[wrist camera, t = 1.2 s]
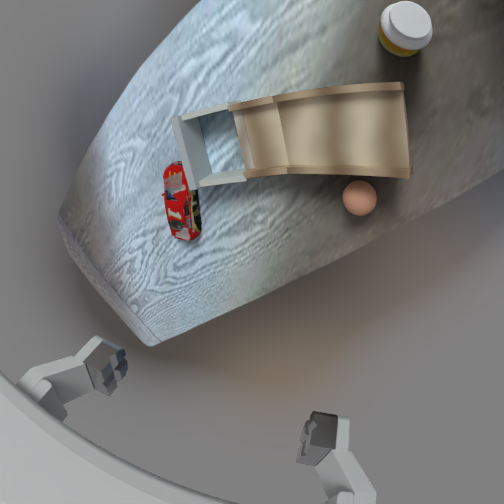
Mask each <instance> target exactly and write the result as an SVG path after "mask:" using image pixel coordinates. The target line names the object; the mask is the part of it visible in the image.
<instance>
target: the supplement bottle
mask: <svg viewBox="0 0 504 504" xmlns="http://www.w3.org/2000/svg"><path fill="white" fill-rule="evenodd" d="M378 37H379V40H380V42H381V44H382V45H383V47H384V48H385V49H386V50H387V51H389V52H390V53H392V54H394V55H396V56H400V57H408V56H412V55H414V54H415V53H417V52H418V51H419V50H421V49H422V48H423V47H425V46H426V45H427V44H428V43H429V42H430V40H431V38H432V26H431V19H430V17H429V15H428V13H427V12H426V11H425V10H424V9H423V8H422V7H421V6H419V5H417V4H416V3H413V2H409V1H401V2H398V3H395V4H392V5H390V6H388V7H387V8H386V9H385V10H384V11H383V13H382V16H381V19H380V23H379V28H378Z"/></svg>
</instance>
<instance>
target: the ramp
mask: <svg viewBox="0 0 504 504" xmlns="http://www.w3.org/2000/svg"><path fill="white" fill-rule="evenodd" d="M403 90H405V89H404V83H403V82H383V83H366V84H354V85H343V86H334V87H326V88H318V89H311V90H304V91H298V92H292V93H286V94H281V95H276V96H270V97H265V98H260V99H255V100H250V101H246V102H241V103H237V104H232V105H229V107H228V108H229V109H228V110H229V112H230V111H232V112H233V116H234V121H235V125H236V129H237V134H238V138H239V142H240V147H241V151H242V155H243V160H244V164H245V168H246V171H244V172H243V175H245V177H244V178H251V177H260V176H269V175H279V174H339V175H363V176H381V177H396V178H408V179H410V177H411V175H412V174H413V166H411V156H410V142H409V131H408V122H407V113H406V106H405V99H404V92H403Z"/></svg>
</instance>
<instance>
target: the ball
mask: <svg viewBox="0 0 504 504" xmlns="http://www.w3.org/2000/svg"><path fill="white" fill-rule="evenodd" d="M376 202H377V195H376V192H375V190H374V188H373V187H372V186H371V185H370V184H369V183H368V182H365V181H362V180H356V181H353V182H351V183H349V184H348V185H347V186H346V187H345V189H344V192H343V203H344V206H345V207H346V209H347V210H348V211H349V212H351V213H352V214H354V215H360V216H361V215H366V214H368V213H370V212H371V211H372V210H373V209H374V207H375V205H376Z"/></svg>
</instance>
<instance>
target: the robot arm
mask: <svg viewBox="0 0 504 504" xmlns="http://www.w3.org/2000/svg"><path fill="white" fill-rule="evenodd" d="M125 355H126V353H125V350H124V349H122V348H120V347H118V346H116V345H114V344H112V343H110V342H108V341H106V340H104V339H102V338H100V337H98V336H95V337H93V338H92V339H91V340H90V341H89V342H88V343H87V344H86V345H85V346H84V347H83V349H81V350H80V351H79V352H78V353H77V355H76V356H75V357H73V356H70V357H67V358H64V359H60V360H57V361H54V362H50V363H47V364H43V365H40V366H36V367H33V368H31V369H30V370H29V371H28V372H27V373H26V374H25V375H24V376H23V377H22V378H21V379H20V381H18V382H17V383H16V385H15V384H14V383H13V382H12V381H11V380H10V379H9V378H8V377H7V376H5V375H4V374H3V373H2V372H1V371H0V504H238V503H235V502H231V501H227V500H223V499H220V498H217V497H214V496H210V495H208V494H204V493H201V492H199V491H196V490H193V489H190V488H187V487H185V486H182V485H179V484H177V483H174V482H172V481H169V480H167V479H164V478H162V477H160V476H157V475H155V474H153V473H151V472H148V471H146V470H144V469H142V468H140V467H138V466H135V465H134V464H132V463H130V462H128V461H126V460H124V459H122V458H120V457H118V456H116V455H115V454H113V453H111V452H109V451H107V450H106V449H104V448H102V447H100V446H99V445H97V444H95V443H94V442H92V441H90V440H89V439H87V438H86V437H84V436H82V435H81V434H79V433H78V432H76V431H75V430H73V429H72V428H70V427H69V426H67V425H66V424H64V423H63V420H64V419H65V418H66V417H67V415H68V414H67V411H66V409H65V408H64V406H63V404H65V403H67V402H69V401H71V400H74V399H76V398H78V397H80V396H82V395H84V394H87V393H89V392H91V391H93V390H94V389H96V390H98V391H100V392H102V393H104V394H106V395H108V396H110V395H111V394H112V393H113V391H114V390H115V389H116V387H117V381H120V380H122V379H123V378H124V376H125V375H126V372H127V370H128V363H127V360H126V359H125V358H124V356H125ZM349 433H350V419H349V417H344V416H337V415H333V414H327V413H322V412H316V411H313V412H312V413H311V415H310V420H307V422H306V423H305V425H304V428H303V430H302V434H301V439H300V441H301V443H302V445H301V446H300V448H299V449H298V455H297V460H296V462H297V463H302V464H306V465H312V466H316V470H317V472H318V475H319V477H320V480H321V482H322V484H323V487H324V489H325V492H326V494H327V496H328V499H329V500H328V501H326V502H324V503H323V504H376V491H375V489H374V488H373V486H372V485H371V483H370V481H369V480H368V478H367V476H366V475H365V473H364V472H363V470H362V468H361V466H360V465H359V463H358V462H357V460H356V458H355V457H354V455H353V453H352V452H349Z"/></svg>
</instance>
